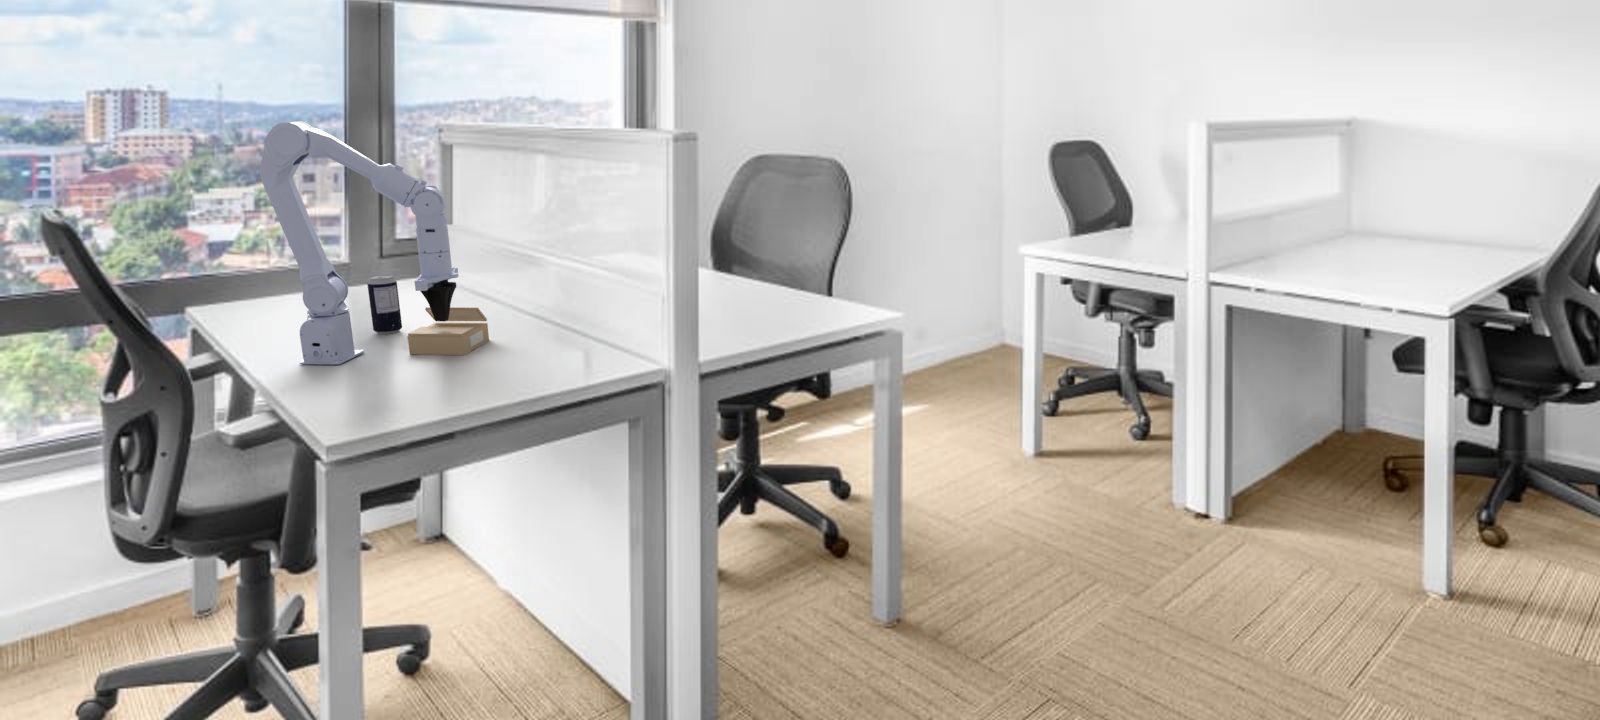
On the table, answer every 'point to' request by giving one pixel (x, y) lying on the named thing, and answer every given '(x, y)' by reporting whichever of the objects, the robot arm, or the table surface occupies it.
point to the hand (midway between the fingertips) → (441, 320)
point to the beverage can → (384, 304)
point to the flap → (462, 314)
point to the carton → (447, 338)
